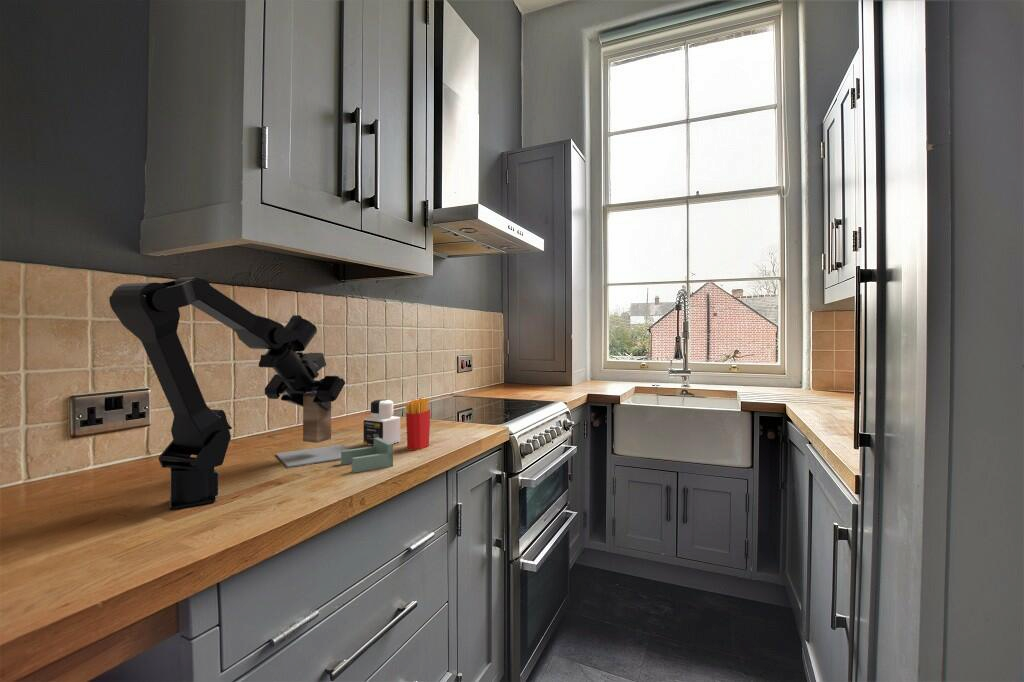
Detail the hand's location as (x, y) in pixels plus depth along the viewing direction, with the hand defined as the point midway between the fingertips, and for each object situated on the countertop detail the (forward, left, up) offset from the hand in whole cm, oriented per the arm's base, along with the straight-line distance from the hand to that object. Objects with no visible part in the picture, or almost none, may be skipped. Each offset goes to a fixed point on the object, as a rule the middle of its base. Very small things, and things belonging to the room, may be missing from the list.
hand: (320, 408), depth 114 cm
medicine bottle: (+17, +3, -12) cm, 21 cm away
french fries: (+23, -7, -12) cm, 27 cm away
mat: (-1, -1, -11) cm, 12 cm away
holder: (+6, -16, -11) cm, 20 cm away
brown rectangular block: (-1, -1, -8) cm, 8 cm away
